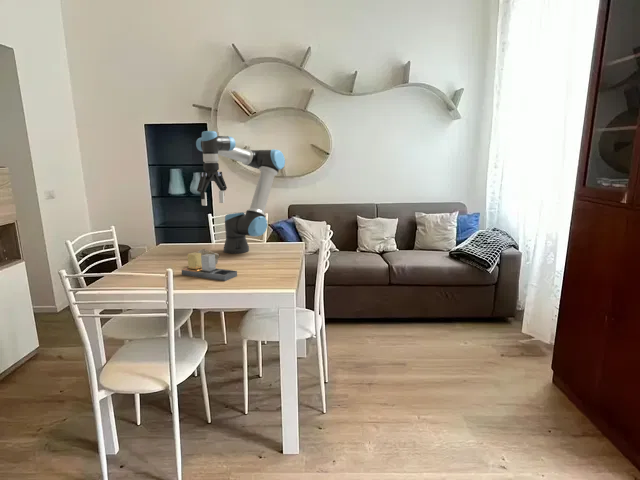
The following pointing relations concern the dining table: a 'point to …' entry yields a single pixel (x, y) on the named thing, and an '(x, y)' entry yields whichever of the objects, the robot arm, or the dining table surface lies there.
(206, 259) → the grey square-ended block
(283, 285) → the dining table surface
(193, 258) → the tan rectangular block
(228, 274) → the grey block rack
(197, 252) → the rock
